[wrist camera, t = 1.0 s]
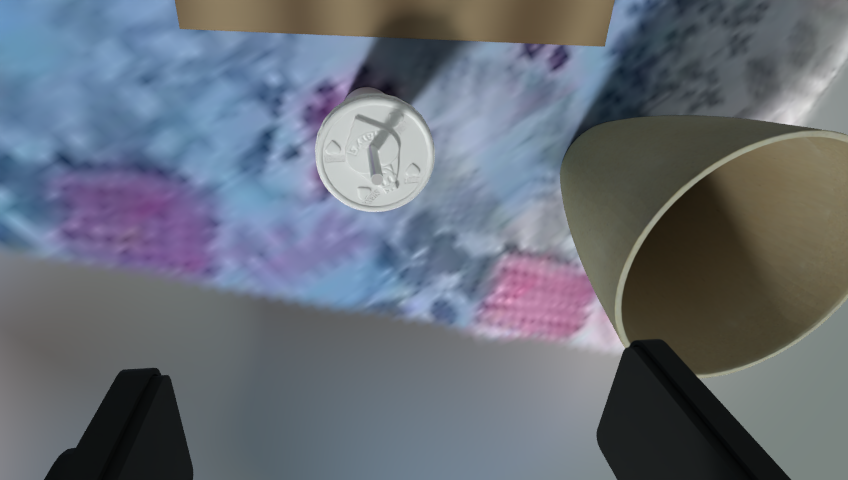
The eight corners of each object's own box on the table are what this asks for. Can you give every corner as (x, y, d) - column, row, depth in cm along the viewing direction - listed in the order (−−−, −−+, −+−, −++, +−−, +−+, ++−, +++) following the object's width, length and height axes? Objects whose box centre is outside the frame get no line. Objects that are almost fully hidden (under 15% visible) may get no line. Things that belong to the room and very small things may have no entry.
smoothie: (390, 49, 32) (420, 92, 19) (426, 135, 35) (472, 218, 23) (303, 90, 32) (280, 158, 20) (347, 171, 35) (351, 272, 23)
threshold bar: (578, -11, 32) (616, -10, 27) (569, 37, 33) (604, 46, 29) (195, -35, 28) (168, -38, 23) (203, 21, 29) (179, 28, 25)
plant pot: (512, 258, 41) (599, 398, 27) (518, 80, 34) (641, 149, 20) (672, 236, 43) (831, 359, 29) (711, 62, 35) (949, 114, 22)
